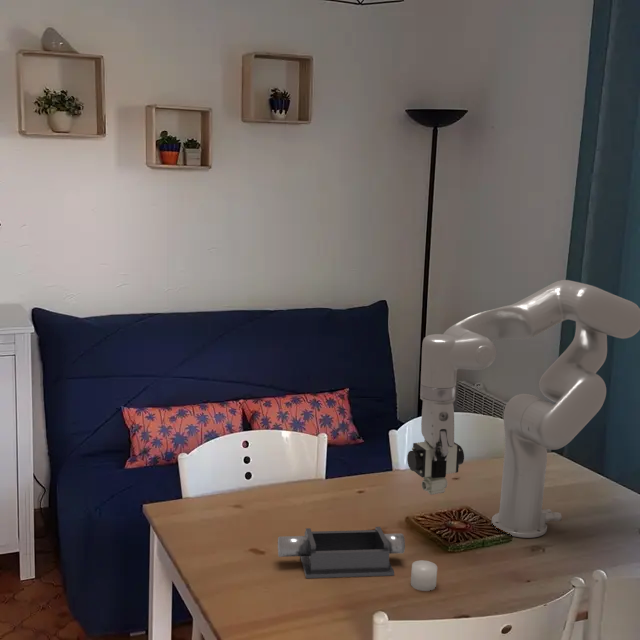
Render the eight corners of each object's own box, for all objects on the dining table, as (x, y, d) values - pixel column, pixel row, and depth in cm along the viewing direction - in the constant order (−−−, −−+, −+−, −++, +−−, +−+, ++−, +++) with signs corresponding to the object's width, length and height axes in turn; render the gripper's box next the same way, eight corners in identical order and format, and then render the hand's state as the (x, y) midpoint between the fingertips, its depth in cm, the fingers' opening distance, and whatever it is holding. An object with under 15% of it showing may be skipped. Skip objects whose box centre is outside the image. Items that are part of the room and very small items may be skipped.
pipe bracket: (394, 548, 182) (396, 522, 181) (408, 574, 170) (410, 547, 169) (275, 551, 178) (276, 524, 177) (281, 579, 166) (282, 551, 165)
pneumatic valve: (462, 491, 184) (465, 439, 181) (415, 499, 180) (417, 445, 177) (450, 482, 189) (452, 431, 186) (403, 489, 185) (405, 437, 182)
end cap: (431, 578, 170) (433, 560, 169) (439, 590, 165) (440, 572, 164) (407, 579, 169) (409, 560, 168) (414, 591, 164) (415, 572, 163)
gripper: (467, 403, 172) (463, 486, 176) (443, 381, 189) (439, 457, 192) (432, 404, 171) (428, 488, 175) (410, 381, 187) (407, 458, 191)
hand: (434, 471), depth 183 cm, fingers closed on pneumatic valve, 5 cm apart
